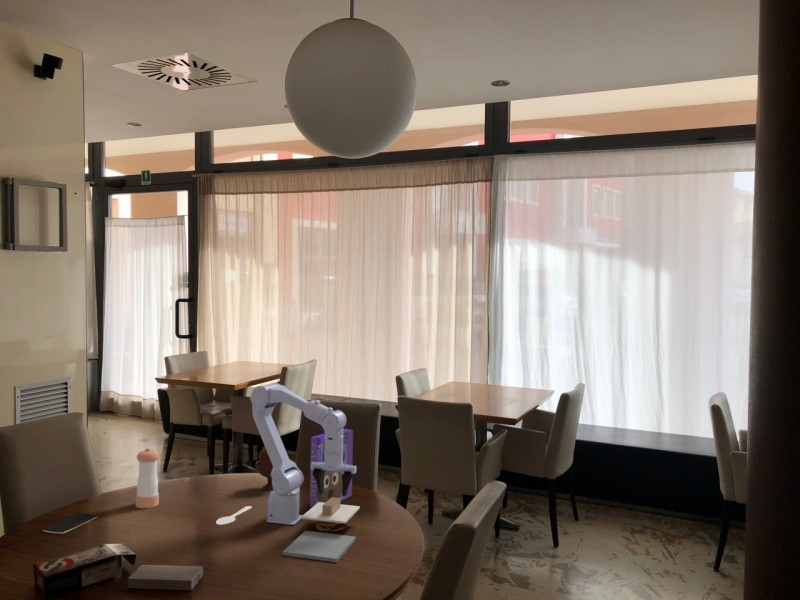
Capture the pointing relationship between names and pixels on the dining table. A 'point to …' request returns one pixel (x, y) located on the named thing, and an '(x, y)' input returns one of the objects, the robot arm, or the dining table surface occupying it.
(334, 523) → the burger
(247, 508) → the spoon
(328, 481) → the cereal box
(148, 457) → the pepper shaker
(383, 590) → the dining table surface
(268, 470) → the ice cream bowl
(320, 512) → the lid
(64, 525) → the smartphone
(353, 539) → the mat
